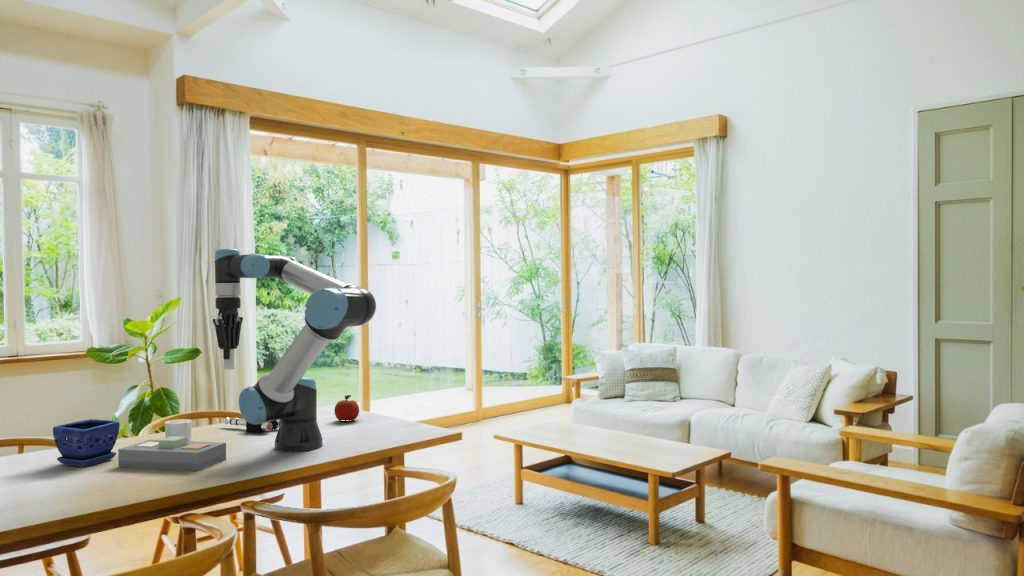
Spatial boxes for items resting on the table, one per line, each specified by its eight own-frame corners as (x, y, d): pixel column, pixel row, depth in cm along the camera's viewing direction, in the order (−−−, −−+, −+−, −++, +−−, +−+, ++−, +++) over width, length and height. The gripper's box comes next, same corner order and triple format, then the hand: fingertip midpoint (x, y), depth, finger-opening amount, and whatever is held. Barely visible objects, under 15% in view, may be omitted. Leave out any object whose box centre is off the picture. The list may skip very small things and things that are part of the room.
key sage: (187, 448, 210) (186, 436, 210) (174, 452, 205) (174, 440, 205) (171, 447, 212) (171, 436, 212) (158, 451, 206) (158, 440, 206)
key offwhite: (164, 453, 212) (164, 442, 212) (151, 458, 207) (151, 446, 207) (148, 452, 213) (148, 441, 213) (135, 457, 208) (135, 445, 208)
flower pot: (122, 458, 215) (121, 420, 215) (83, 469, 202) (82, 429, 202) (90, 455, 219) (90, 418, 219) (50, 466, 207) (50, 426, 207)
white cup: (181, 455, 218) (180, 424, 218) (159, 454, 219) (159, 423, 219) (197, 449, 225) (197, 419, 225) (176, 449, 227) (175, 418, 227)
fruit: (330, 423, 267) (329, 397, 267) (340, 418, 276) (340, 393, 276) (353, 423, 265) (353, 397, 265) (363, 418, 275) (362, 393, 275)
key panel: (226, 459, 212) (225, 442, 212) (198, 470, 199) (198, 452, 199) (150, 456, 217) (149, 439, 217) (118, 466, 205) (118, 449, 205)
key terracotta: (210, 455, 209) (210, 444, 209) (198, 460, 203) (198, 448, 203) (194, 455, 210) (194, 443, 210) (182, 459, 204) (182, 447, 204)
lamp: (264, 420, 247) (212, 416, 257) (264, 435, 247) (212, 430, 257) (285, 415, 257) (234, 411, 267) (285, 429, 257) (234, 424, 267)
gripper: (229, 296, 231) (231, 366, 231) (204, 297, 219) (205, 371, 219) (250, 296, 230) (251, 366, 230) (225, 296, 217) (226, 371, 217)
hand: (229, 369), depth 224 cm, fingers closed
